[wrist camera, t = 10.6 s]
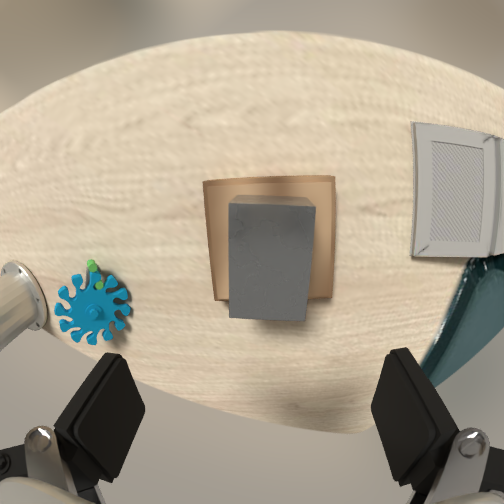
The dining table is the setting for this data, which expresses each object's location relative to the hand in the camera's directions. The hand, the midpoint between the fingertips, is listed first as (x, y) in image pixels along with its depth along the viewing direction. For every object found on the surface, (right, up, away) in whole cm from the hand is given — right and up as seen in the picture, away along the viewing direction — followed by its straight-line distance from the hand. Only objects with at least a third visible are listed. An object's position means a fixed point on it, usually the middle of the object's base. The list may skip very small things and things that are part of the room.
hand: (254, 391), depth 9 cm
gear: (-19, 0, +23) cm, 30 cm away
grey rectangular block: (+2, +5, +17) cm, 18 cm away
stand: (+2, +6, +19) cm, 21 cm away
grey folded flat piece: (+29, +12, +16) cm, 35 cm away
